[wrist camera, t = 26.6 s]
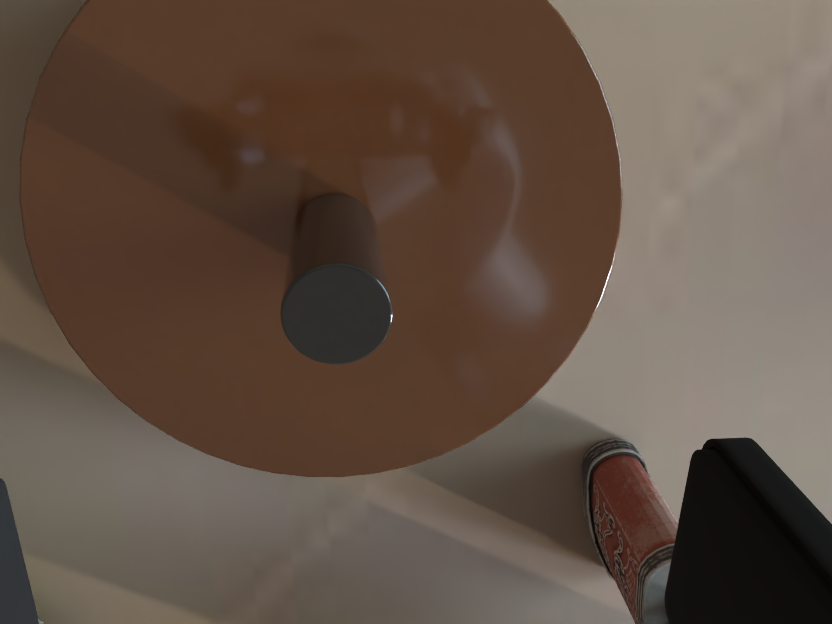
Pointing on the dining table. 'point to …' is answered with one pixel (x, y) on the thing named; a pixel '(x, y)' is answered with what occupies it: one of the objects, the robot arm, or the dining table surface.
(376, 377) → the lid
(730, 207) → the dining table surface
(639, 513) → the lighter
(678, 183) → the dining table surface
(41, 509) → the dining table surface
